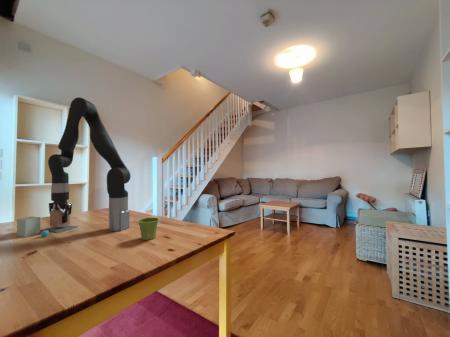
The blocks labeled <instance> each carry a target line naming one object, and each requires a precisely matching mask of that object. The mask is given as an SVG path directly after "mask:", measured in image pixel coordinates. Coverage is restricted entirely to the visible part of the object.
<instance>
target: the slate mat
mask: <svg viewBox="0 0 450 337" xmlns="http://www.w3.org/2000/svg"><path fill="white" fill-rule="evenodd" d="M76 228H78V226H77V225H71V224H69V225H65V226H61V227H51V226H49V227H47V228H46V227H45V228H43V229H40V232H42V231H44V230H47V231H49V233H50V232H51V233H58V234H59V233H61V232H65V231H69V230H72V229H76Z"/></svg>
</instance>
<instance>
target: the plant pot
mask: <svg viewBox="0 0 450 337" xmlns="http://www.w3.org/2000/svg"><path fill="white" fill-rule="evenodd" d="M159 221H160V218H158V217H145V218H140V219H138V220H137V223H138V226H139V230H140V237H141V239H142V241H149V240H154V239H156V237H157V235H156V234H157V230H158V223H159Z"/></svg>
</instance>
